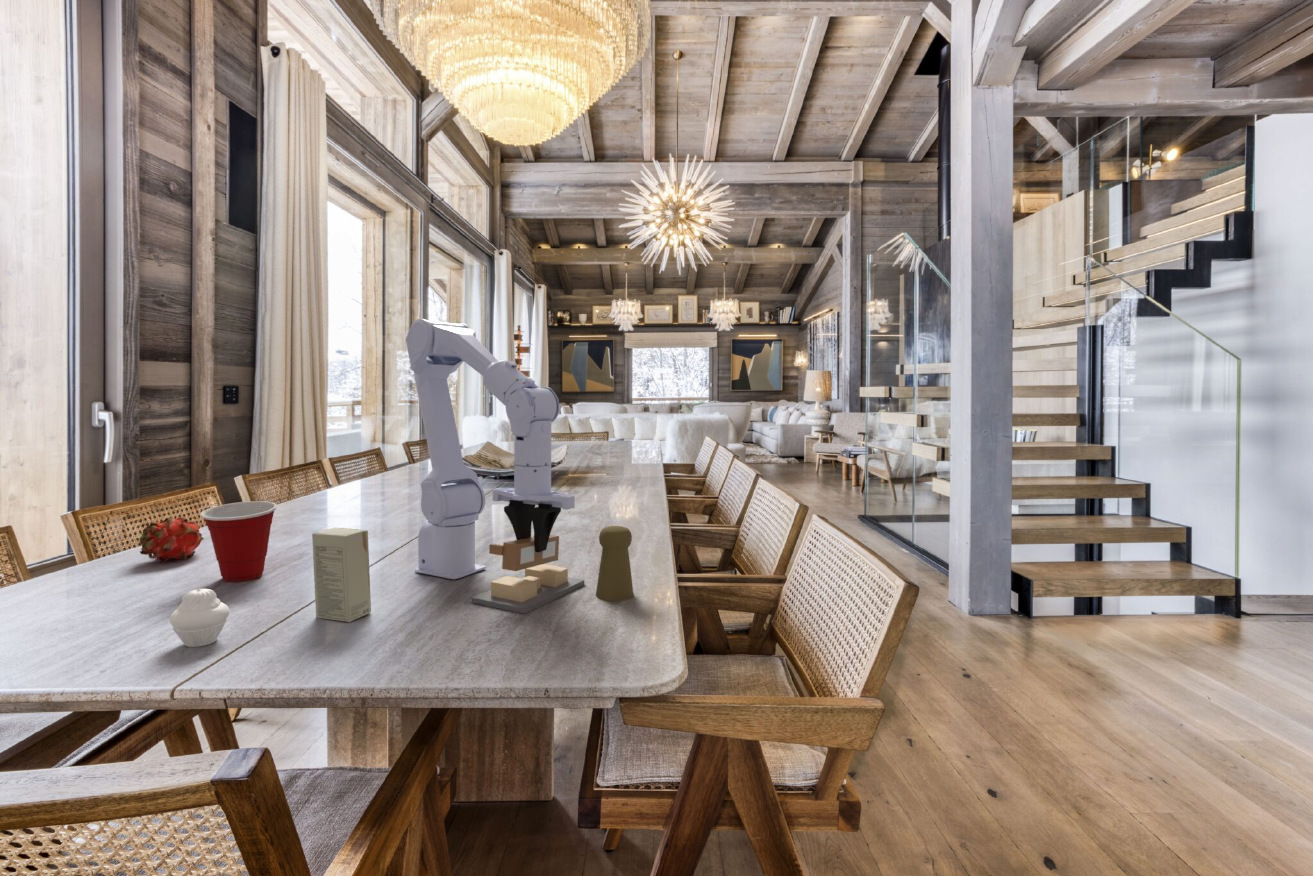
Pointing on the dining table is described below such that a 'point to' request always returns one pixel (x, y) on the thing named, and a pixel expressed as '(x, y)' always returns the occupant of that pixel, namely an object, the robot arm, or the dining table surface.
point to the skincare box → (341, 574)
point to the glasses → (525, 553)
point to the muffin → (199, 618)
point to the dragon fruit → (170, 539)
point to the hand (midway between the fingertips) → (532, 549)
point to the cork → (615, 565)
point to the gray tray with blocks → (529, 589)
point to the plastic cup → (240, 537)
